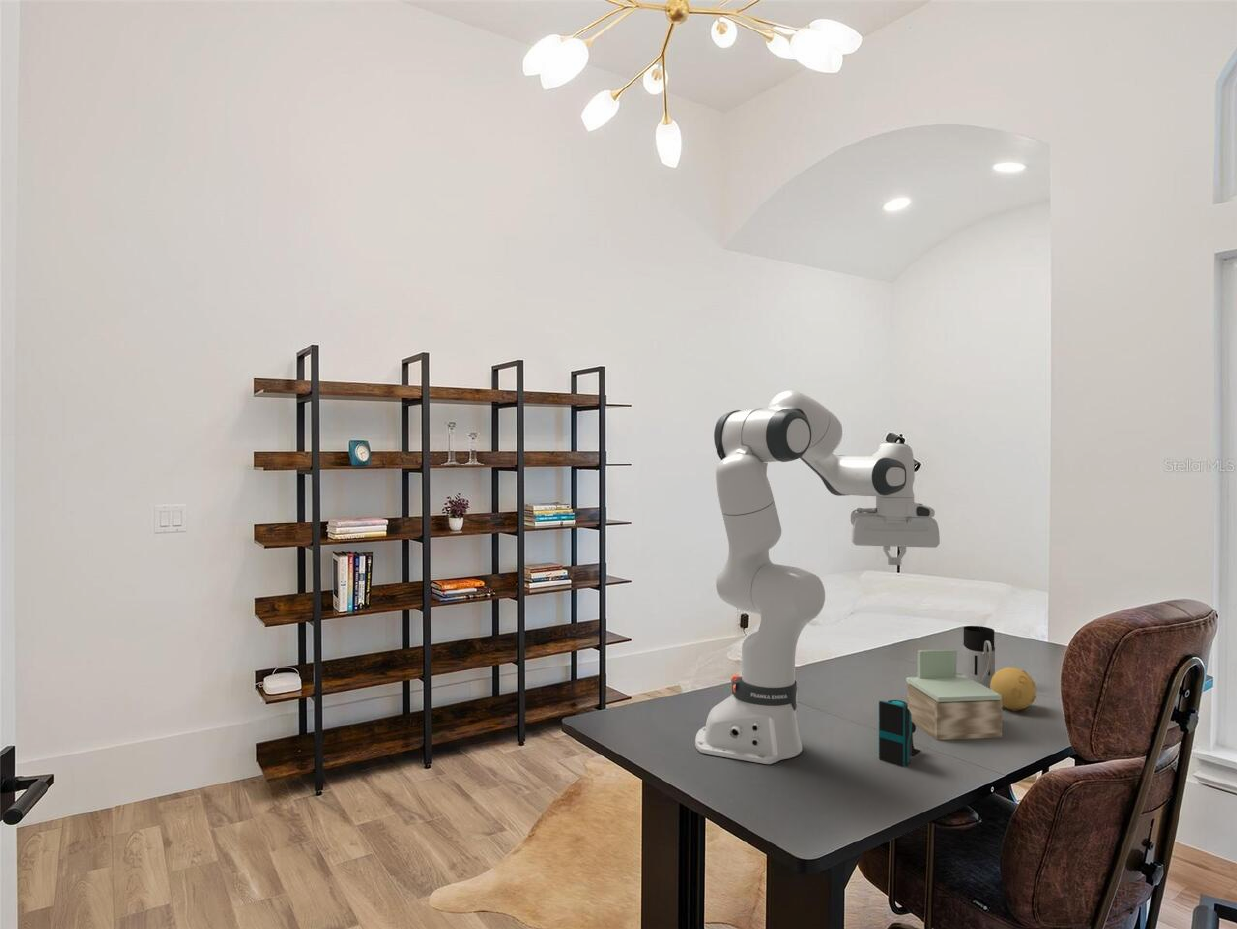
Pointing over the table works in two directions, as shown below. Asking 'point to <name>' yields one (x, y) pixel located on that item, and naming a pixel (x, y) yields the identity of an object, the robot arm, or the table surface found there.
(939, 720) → the wooden box
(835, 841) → the table surface
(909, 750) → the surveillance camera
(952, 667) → the lid
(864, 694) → the table surface
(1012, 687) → the stress ball
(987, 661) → the glass holder
